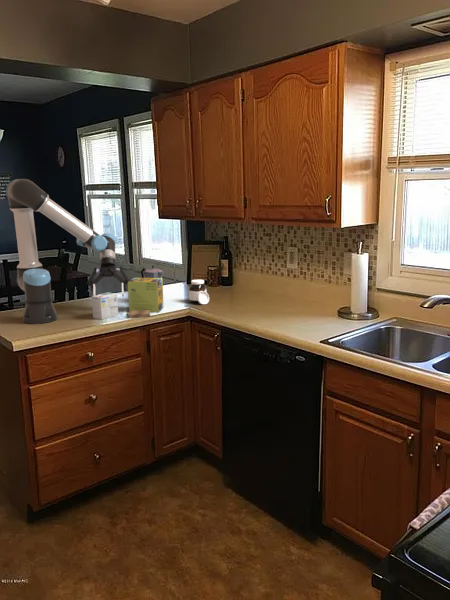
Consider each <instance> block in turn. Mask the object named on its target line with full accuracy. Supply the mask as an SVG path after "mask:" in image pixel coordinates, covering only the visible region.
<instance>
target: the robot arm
mask: <svg viewBox="0 0 450 600" xmlns="http://www.w3.org/2000/svg"><path fill="white" fill-rule="evenodd" d="M5 195H6V197H7V199H8V205H9V210H10V211H11V212H12V213H13V218H14V228H15V234H16V241H17V242H16V243H17V252H18V259H19V263H18V264H17V266H16V271H17V275H16V283H17V285H18V288H20V289H21V290H22V291H23V292H24V299H25V306H24V307H25V308H24V311H23V315H22V321H23V323H26V324H32V325H33V324H34V325H35V324H45V323H51V322H54V321H56V320H58V314H57V311H56V308H55V306H54V304H53V297H52V296H53V295H52V285H51V282H52V281H51V279H52V277H51V275H50V271H49V270H47V269H44V268H43V264H42V263H41V262H40V261H39V254H38V252H39V251H38V246H37V235H36V226H35V219H34V218H35V217H34V212H39V213H41V214H42V215H44V216H45V217H47V218H48V219H49V220H51V221H52V222H53V223H55V224H56V225H58V226H59V227H61V228H62V229H64V230H65V231H67V232H68V233H69V234H71V235H72V236H74V237H75V238H76V244H77V246H80V247H84V248H88V249H90V250H94V251H95V252H100V253H99V255H100V256H99V257H100V258H99V259H100V260H99V261H100V262H99V263H100V266H99V267H100V268H97V267H94V268H93V271H92V272H91V275H90V277H89V278H88V280H87V286H88V287H89V286H90V291H91V292H92V293H93V295H92V296H95V295H96V285H97V284H98V283H99V282H100V281H101V280H102V279H103V278H104V277H105V278H108V277H109V278H111V277H113V278H115V279H116V280H118V282H119V283H121V296H122V297H125V291H126V290H127V285H128V281H130V279H129V278H128V276H127V275H126V273H125V271H124V270H123V267H122V266H119V267H116V266H117V264H116V263H117V261H116V240H115V236H114V235H113V234H111V233H102V234H101V235H100V234H99V233H98V232H96V231H95V230H93V228H91V227H89V226H88V225H86V223H84V222H82V221H81V220H80V219H78V218H77V217H76V216H74V215H73V214H71V213H70V212H69V211H67V210H66V209H65V208H63V207H62V206H61V205H59V203H56V202H55V201H54V200H52V199H51V198H50V196H49V194H48V193H46V192H45V191H44V190H43V189H42V188H40V187H39V186H38V185H37V184H36V183H34V181H32V180H30V179H27V178H16V179H13V180H12V181H10V182H9V183H8V184H7V186H6V188H5ZM117 272H118V273H120V275H119V274H118V273H117ZM98 273H99V274H98Z"/></svg>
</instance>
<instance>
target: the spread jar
mask: <svg viewBox="0 0 450 600" xmlns="http://www.w3.org/2000/svg"><path fill="white" fill-rule="evenodd" d="M190 282H191V283H190V286H189V289H188V294H189V295H188V298H189V301H190V303H192V304H200V305H207V304H208V303H209V302H210V295H209V293H208V292H207V286H206V284H205V280H204V279H192V280H191V281H190Z"/></svg>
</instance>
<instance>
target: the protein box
mask: <svg viewBox="0 0 450 600" xmlns="http://www.w3.org/2000/svg"><path fill="white" fill-rule="evenodd" d="M163 284H164V282H163V277H162V278H145V277H144V278H142V277H133V278H131V279H129V281H128V284H127V293H128V294H127V295H128V296H127V297H128V312H129V311H136V310H150V313H160V312H161V311H162V310H163V309H164V308H165V307H164V285H163Z"/></svg>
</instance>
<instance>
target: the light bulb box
mask: <svg viewBox="0 0 450 600" xmlns="http://www.w3.org/2000/svg"><path fill="white" fill-rule="evenodd" d="M91 303H92V317H93V319H99V320H104V319H108V318H112V317H115V316H119V307H118V294H117V293H114V292H109V291H108V292H104V293H99V294H97V295H96V294H95V296H93V295H92V296H91Z"/></svg>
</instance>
